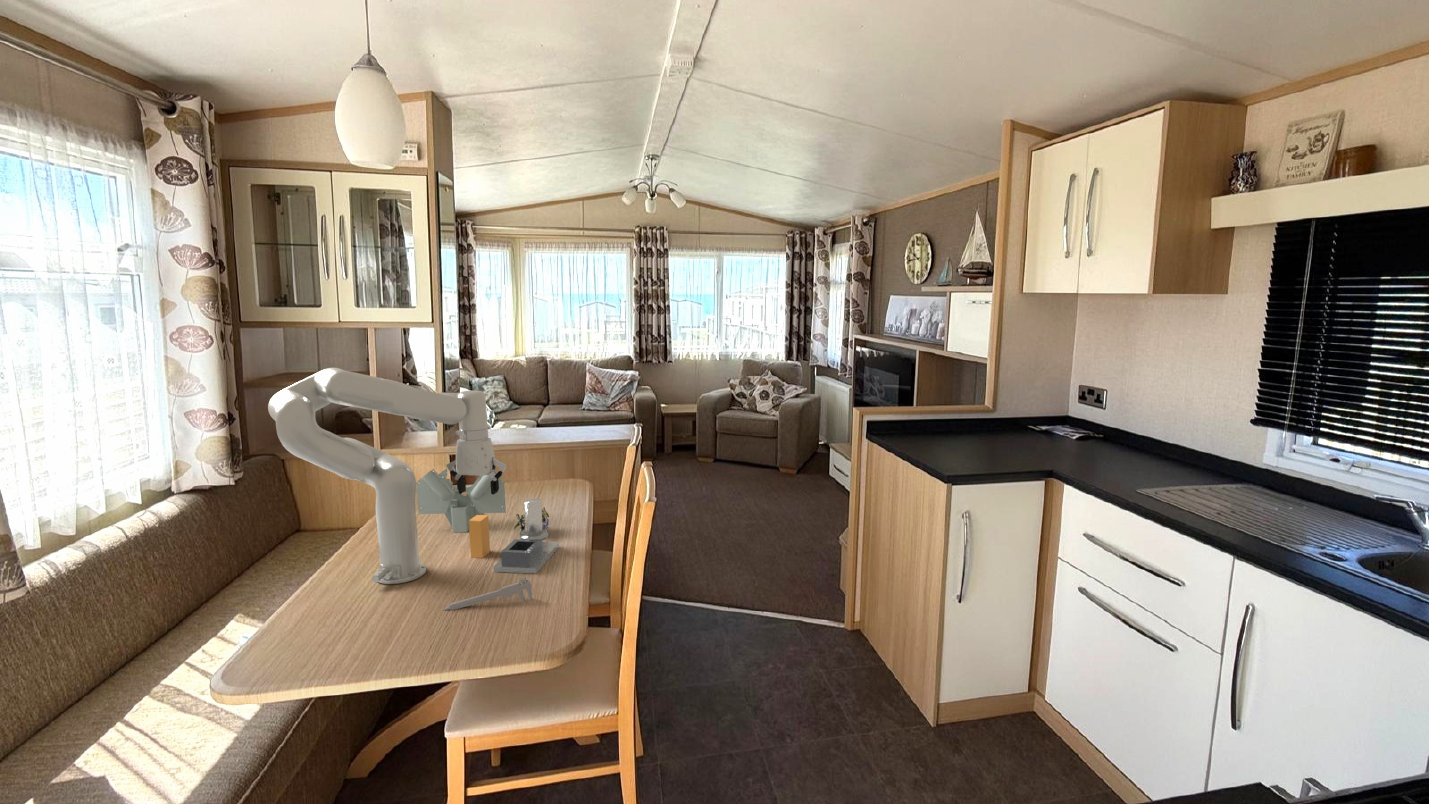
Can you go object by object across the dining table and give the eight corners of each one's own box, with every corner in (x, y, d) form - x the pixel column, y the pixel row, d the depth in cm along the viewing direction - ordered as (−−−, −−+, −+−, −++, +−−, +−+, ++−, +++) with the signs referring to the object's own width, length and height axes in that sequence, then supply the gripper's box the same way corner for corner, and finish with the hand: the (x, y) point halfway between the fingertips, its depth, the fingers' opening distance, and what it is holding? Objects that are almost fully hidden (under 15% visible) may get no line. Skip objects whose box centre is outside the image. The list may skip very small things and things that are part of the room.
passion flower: (544, 551, 211) (546, 529, 203) (509, 547, 209) (510, 524, 201) (551, 522, 219) (553, 500, 211) (517, 517, 218) (518, 495, 210)
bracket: (509, 523, 220) (506, 464, 217) (503, 531, 213) (500, 470, 210) (424, 525, 219) (419, 465, 215) (415, 533, 212) (411, 471, 208)
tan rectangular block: (482, 557, 192) (480, 521, 190) (470, 557, 193) (468, 520, 191) (490, 551, 197) (488, 515, 195) (478, 550, 197) (476, 515, 196)
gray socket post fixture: (536, 573, 181) (533, 518, 179) (493, 571, 183) (490, 517, 180) (559, 547, 200) (557, 497, 198) (520, 545, 201) (518, 496, 199)
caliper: (532, 599, 167) (531, 575, 166) (532, 601, 166) (531, 577, 165) (444, 609, 161) (442, 585, 160) (444, 611, 160) (442, 587, 159)
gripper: (438, 437, 186) (443, 496, 189) (498, 437, 185) (502, 497, 188) (451, 431, 194) (456, 488, 197) (509, 432, 192) (512, 489, 195)
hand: (478, 492), depth 192 cm, fingers open, 9 cm apart
